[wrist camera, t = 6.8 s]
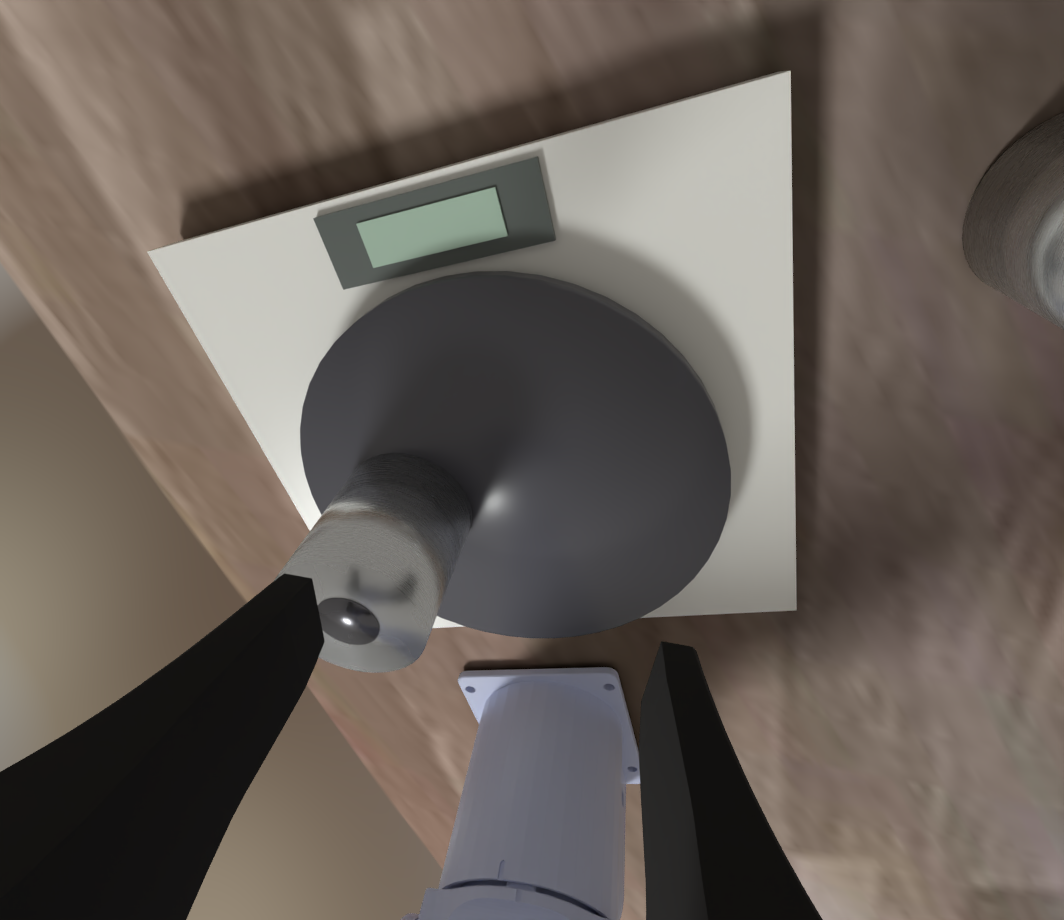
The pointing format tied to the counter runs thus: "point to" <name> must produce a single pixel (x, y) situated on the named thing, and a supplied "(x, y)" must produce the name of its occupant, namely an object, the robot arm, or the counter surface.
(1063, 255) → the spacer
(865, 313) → the counter surface
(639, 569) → the scale pan
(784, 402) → the scale base
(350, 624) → the cylinder
